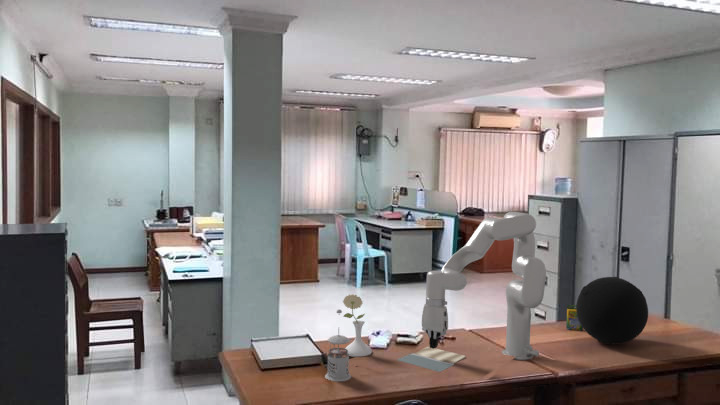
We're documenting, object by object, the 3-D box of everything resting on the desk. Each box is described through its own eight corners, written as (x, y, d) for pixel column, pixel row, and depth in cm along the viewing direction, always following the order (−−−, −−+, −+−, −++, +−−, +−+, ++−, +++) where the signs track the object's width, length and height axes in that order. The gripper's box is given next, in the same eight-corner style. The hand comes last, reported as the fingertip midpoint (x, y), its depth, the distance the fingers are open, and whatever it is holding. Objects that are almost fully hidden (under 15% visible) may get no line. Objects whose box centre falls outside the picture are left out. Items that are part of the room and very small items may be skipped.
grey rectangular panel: (454, 367, 223) (454, 364, 223) (439, 375, 214) (439, 371, 214) (411, 356, 235) (411, 353, 235) (396, 363, 227) (396, 359, 227)
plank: (465, 358, 231) (465, 355, 231) (452, 366, 224) (452, 363, 224) (427, 349, 243) (427, 346, 243) (414, 356, 235) (414, 353, 235)
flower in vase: (376, 353, 238) (377, 293, 237) (364, 361, 228) (366, 299, 227) (347, 348, 244) (349, 290, 242) (335, 356, 234) (336, 295, 232)
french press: (330, 383, 205) (331, 313, 203) (319, 372, 215) (320, 306, 214) (355, 379, 209) (356, 311, 207) (343, 369, 219) (344, 304, 218)
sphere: (659, 354, 244) (663, 284, 242) (589, 353, 244) (592, 283, 242) (628, 334, 273) (631, 272, 271) (565, 333, 274) (568, 270, 272)
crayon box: (567, 329, 280) (568, 306, 279) (566, 328, 283) (567, 304, 282) (582, 330, 279) (583, 307, 278) (581, 329, 281) (582, 305, 281)
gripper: (456, 303, 227) (454, 349, 228) (424, 297, 236) (422, 341, 237) (446, 307, 221) (444, 353, 222) (414, 300, 230) (412, 345, 231)
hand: (433, 347), depth 229 cm, fingers closed
